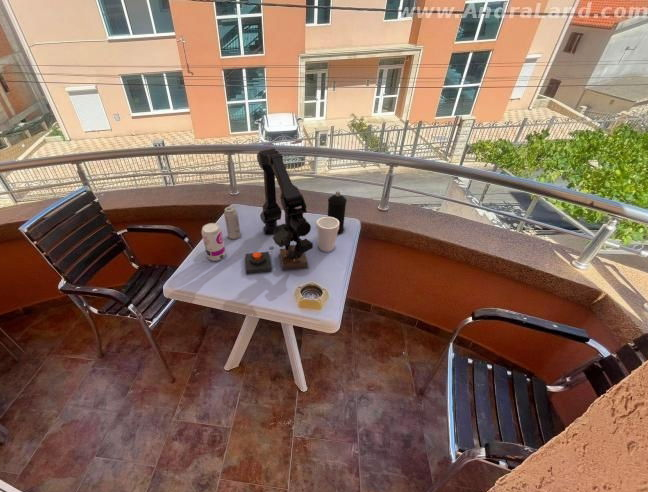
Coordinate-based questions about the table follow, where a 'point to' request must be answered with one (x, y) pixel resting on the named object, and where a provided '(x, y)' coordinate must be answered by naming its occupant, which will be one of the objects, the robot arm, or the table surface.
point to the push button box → (258, 263)
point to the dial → (292, 251)
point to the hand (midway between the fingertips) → (293, 254)
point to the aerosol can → (337, 209)
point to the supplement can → (213, 241)
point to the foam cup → (327, 232)
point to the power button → (257, 256)
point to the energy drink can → (232, 222)
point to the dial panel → (292, 261)
